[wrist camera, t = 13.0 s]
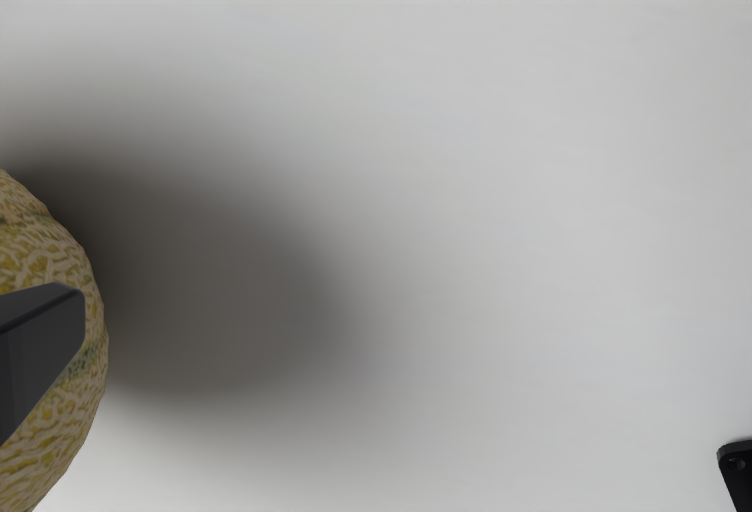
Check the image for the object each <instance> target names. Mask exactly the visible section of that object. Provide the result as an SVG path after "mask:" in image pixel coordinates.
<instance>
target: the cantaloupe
mask: <svg viewBox="0 0 752 512" xmlns="http://www.w3.org/2000/svg"><path fill="white" fill-rule="evenodd" d="M50 282H62V283H65V284H68V285H70V286H73V287H75V288H78V289H80V290H81V291H83V293H84V295H85V300H86V335H85V340H84V342H83V345H82V346H81V348H80V350H79V351H78V352H77V354H76V355H75V356H74V358H73V359H72V360H71V362H70V363H69V364H68V365H67V367H66V368H65V369H64V371H63V372H62V373H61V374H60V376H59V377H58V378H57V380H56V381H55V382H54V383H53V385H52V386H51V387H50V389H49V390H48V391H47V392H46V394H45V395H44V396H43V398H42V399H41V400H40V401H39V403H38V404H37V405H36V407H35V408H34V409H33V411H32V412H31V413H30V414H29V416H28V417H27V418H26V419H25V421H24V422H23V423H22V424H21V425H20V427H19V428H18V429H17V430H16V431H15V432H14V434H13V435H12V436H11V437H10V438H9V439H8V440H7V441H6V442H5V443H4V444H3V446H2V447H1V448H0V512H32V511H33V510H34V508H35V507H36V506H37V504H38V503H39V502H40V501H41V500H42V499H43V498H44V497H45V496H46V494H47V493H48V492H49V491H50V489H51V488H52V487H53V486H54V485H55V484H56V483H57V481H58V480H59V479H60V478H61V477H62V476H63V475H64V473H65V472H66V471H67V469H68V467H69V465H70V464H71V462H72V460H73V459H74V457H75V456H76V454H77V453H78V451H79V450H80V448H81V447H82V445H83V444H84V442H85V440H86V437H87V435H88V433H89V431H90V428H91V425H92V422H93V419H94V416H95V414H96V411H97V408H98V406H99V403H100V400H101V398H102V396H103V394H104V391H105V384H106V377H107V371H108V347H109V337H108V331H107V328H106V325H105V322H104V304H103V302H102V299H101V297H100V292H99V289H98V287H97V285H96V282H95V280H94V276H93V271H92V267H91V264H90V261H89V259H88V258H87V256H86V254H85V251H84V248H83V247H82V246H81V245H80V244H79V243H77V242H76V240H75V239H74V238H73V237H72V236H71V234H70V233H69V232H68V231H67V229H66V228H64V227H63V226H62V225H61V224H59V223H58V222H57V221H56V220H54V219H53V218H52V216H51V214H50V213H49V211H48V209H47V208H46V206H45V205H44V204H43V203H42V202H41V201H39V200H38V199H37V198H36V197H34V196H33V195H32V194H31V193H30V192H29V191H28V190H27V189H26V187H25V186H23V185H22V184H20V183H19V182H17V181H16V180H15V179H13V178H12V177H11V176H10V175H9V174H8V173H7V172H6V171H5V170H3V169H1V168H0V294H5V293H9V292H13V291H17V290H21V289H25V288H29V287H33V286H37V285H42V284H46V283H50Z"/></svg>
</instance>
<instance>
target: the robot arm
mask: <svg viewBox="0 0 752 512" xmlns="http://www.w3.org/2000/svg"><path fill="white" fill-rule="evenodd" d="M85 335H86V300H85V295H84V293H83V291H81V290H80V289H78V288H75V287H73V286H70V285H68V284H65V283H62V282H50V283H46V284H42V285H37V286H33V287H29V288H25V289H21V290H17V291H13V292H9V293H5V294H0V448H1V447H2V446H3V444H4V443H5V442H6V441H7V440H8V439H9V438H10V437H11V436H12V435H13V434H14V432H15V431H16V430H17V429H18V428H19V427H20V425H21V424H22V423H23V422H24V421H25V419H26V418H27V417H28V416H29V414H30V413H31V412H32V411H33V409H34V408H35V407H36V405H37V404H38V403H39V401H40V400H41V399H42V398H43V396H44V395H45V394H46V392H47V391H48V390H49V389H50V387H51V386H52V385H53V383H54V382H55V381H56V380H57V378H58V377H59V376H60V374H61V373H62V372H63V371H64V369H65V368H66V367H67V365H68V364H69V363H70V362H71V360H72V359H73V358H74V356H75V355H76V354H77V352H78V351H79V350H80V348H81V346H82V345H83V342H84V340H85ZM733 458H739V459H741V460H739V461H736V462H735V461H729V460H730V459H733ZM717 460H718V465H719V468H720V471H721V473H722V476H723V478H724V481H725V483H726V486H727V488H728V491H729V493H730V496H731V498H732V501H733V503H734V506H735V508H736V511H737V512H752V440H748V441H742V442H736V443H730V444H726V445H723V446H722V447H721V448H719V449H718V451H717Z"/></svg>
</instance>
